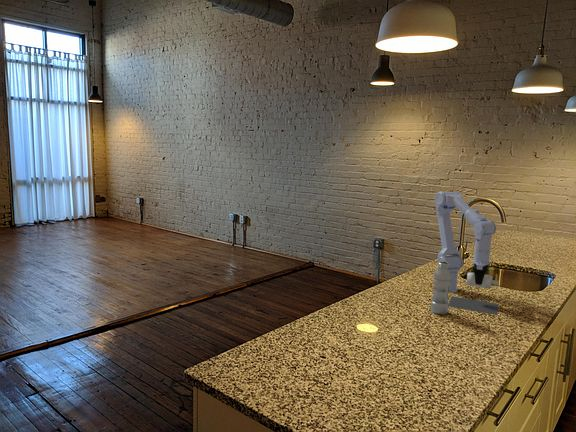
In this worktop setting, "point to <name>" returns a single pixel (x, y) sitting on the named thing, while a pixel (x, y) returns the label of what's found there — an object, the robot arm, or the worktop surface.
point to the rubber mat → (474, 305)
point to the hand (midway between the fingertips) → (478, 282)
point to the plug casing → (485, 284)
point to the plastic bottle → (441, 289)
